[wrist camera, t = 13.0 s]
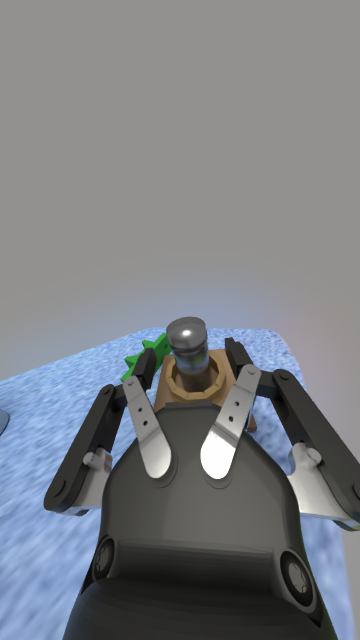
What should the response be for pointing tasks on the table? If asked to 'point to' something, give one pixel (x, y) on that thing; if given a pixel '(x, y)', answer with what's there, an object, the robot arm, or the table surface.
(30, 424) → the table surface
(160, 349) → the green bracket
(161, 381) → the ring seat
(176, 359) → the grey lidded jar
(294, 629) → the robot arm
